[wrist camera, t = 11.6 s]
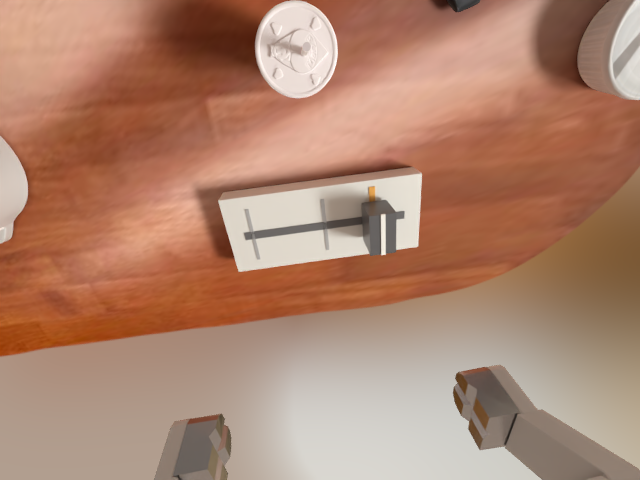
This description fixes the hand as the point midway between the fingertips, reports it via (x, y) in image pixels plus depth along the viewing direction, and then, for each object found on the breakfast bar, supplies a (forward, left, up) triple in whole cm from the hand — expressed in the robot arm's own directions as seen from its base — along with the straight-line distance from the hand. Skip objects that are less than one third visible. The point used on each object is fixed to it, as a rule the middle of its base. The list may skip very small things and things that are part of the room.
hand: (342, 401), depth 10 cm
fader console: (+2, -6, -30) cm, 31 cm away
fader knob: (+8, -6, -27) cm, 28 cm away
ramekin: (+36, +10, -30) cm, 48 cm away
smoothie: (0, +12, -30) cm, 32 cm away
